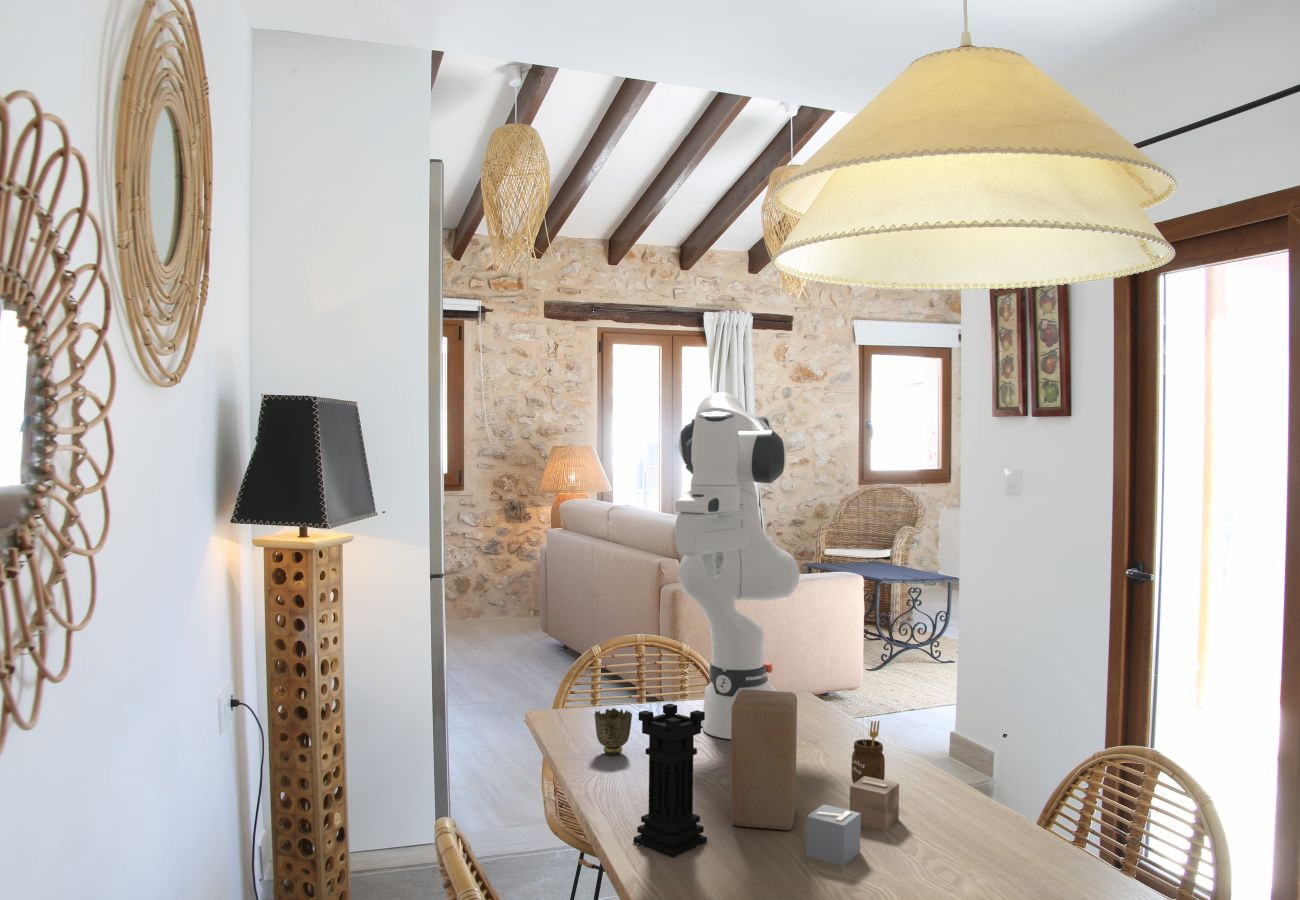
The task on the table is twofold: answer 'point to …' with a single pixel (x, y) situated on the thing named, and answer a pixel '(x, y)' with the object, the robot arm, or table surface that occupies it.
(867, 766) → the utensil holder
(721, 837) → the table surface
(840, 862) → the slate numbered cube
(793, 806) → the block
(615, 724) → the cup
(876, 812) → the walnut numbered cube
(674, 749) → the chess piece
